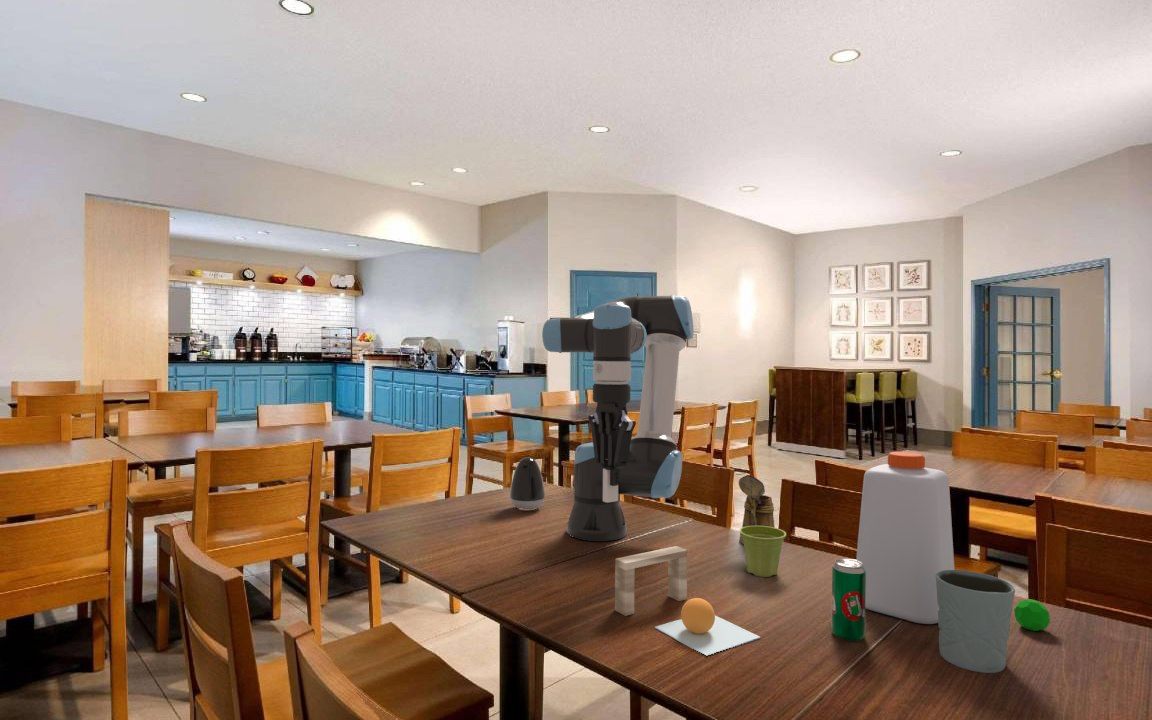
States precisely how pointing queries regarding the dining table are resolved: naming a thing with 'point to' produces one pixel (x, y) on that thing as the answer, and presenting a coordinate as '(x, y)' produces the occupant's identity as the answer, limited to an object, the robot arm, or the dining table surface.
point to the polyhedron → (1032, 615)
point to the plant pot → (762, 549)
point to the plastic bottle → (905, 537)
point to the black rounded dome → (527, 485)
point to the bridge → (629, 563)
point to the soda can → (848, 599)
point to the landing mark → (709, 636)
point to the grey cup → (974, 619)
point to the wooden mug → (756, 504)
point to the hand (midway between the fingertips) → (610, 500)
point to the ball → (698, 615)
